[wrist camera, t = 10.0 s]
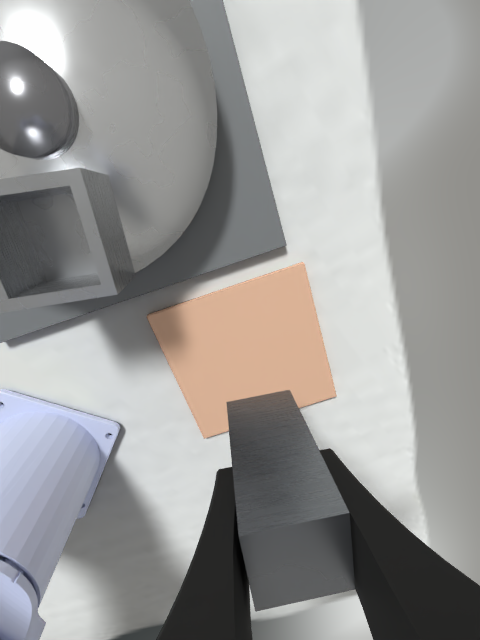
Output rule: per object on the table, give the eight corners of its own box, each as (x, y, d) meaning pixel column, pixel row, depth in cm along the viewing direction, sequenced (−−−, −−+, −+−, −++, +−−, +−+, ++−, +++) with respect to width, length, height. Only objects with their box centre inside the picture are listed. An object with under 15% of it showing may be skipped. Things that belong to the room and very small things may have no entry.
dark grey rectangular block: (226, 401, 14) (238, 536, 8) (289, 389, 14) (349, 512, 8) (237, 454, 15) (255, 611, 9) (296, 442, 15) (355, 589, 9)
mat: (334, 392, 22) (336, 396, 22) (204, 434, 23) (204, 438, 22) (302, 262, 19) (304, 263, 18) (147, 314, 19) (146, 316, 19)
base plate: (284, 243, 18) (286, 245, 18) (3, 339, 19) (-4, 344, 18) (162, -219, 12) (160, -240, 11) (-263, -48, 12) (-286, -60, 12)
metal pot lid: (-220, -83, 11) (-538, -292, 7) (182, -131, 12) (161, -359, 7) (-33, 299, 17) (-131, 338, 12) (236, 257, 17) (246, 279, 13)
